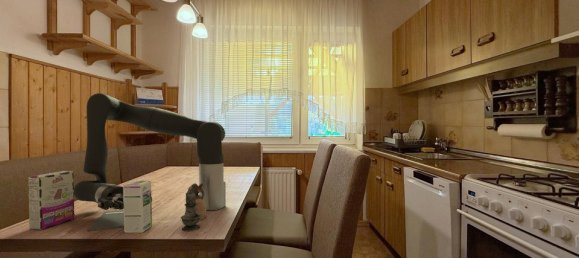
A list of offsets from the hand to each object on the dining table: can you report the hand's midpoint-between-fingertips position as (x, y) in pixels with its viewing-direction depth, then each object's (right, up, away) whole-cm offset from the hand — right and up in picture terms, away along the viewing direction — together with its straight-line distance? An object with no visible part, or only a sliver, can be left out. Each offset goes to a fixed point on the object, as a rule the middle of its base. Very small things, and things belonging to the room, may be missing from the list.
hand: (137, 203), depth 89 cm
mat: (-12, -8, +10) cm, 18 cm away
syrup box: (0, -8, 0) cm, 8 cm away
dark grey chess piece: (+16, -8, +1) cm, 18 cm away
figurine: (+14, -8, +11) cm, 20 cm away
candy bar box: (-30, -8, +5) cm, 31 cm away
